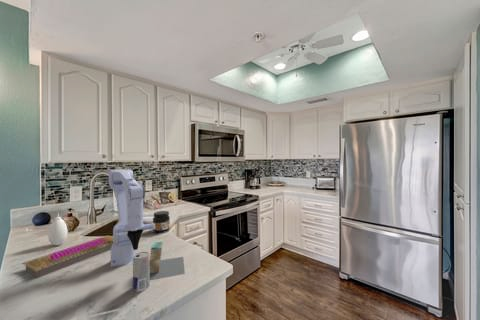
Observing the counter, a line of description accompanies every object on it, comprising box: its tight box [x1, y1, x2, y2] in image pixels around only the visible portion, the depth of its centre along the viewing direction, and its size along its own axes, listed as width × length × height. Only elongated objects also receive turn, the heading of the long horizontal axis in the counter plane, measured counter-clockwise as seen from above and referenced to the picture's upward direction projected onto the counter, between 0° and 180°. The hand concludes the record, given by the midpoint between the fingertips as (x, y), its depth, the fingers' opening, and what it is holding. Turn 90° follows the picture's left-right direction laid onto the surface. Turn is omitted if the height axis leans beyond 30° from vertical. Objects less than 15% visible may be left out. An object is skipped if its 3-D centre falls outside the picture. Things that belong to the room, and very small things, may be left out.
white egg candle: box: [47, 212, 69, 246], centre depth 109 cm, size 8×8×18 cm
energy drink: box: [132, 251, 151, 293], centre depth 70 cm, size 5×5×12 cm
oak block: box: [149, 241, 163, 273], centre depth 82 cm, size 4×6×10 cm, turn 19°
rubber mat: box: [150, 256, 186, 281], centre depth 83 cm, size 18×15×1 cm
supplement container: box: [152, 210, 171, 234], centre depth 131 cm, size 10×10×12 cm
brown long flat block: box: [21, 235, 114, 278], centre depth 95 cm, size 35×14×6 cm, turn 153°
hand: (135, 248), depth 79 cm, fingers closed
